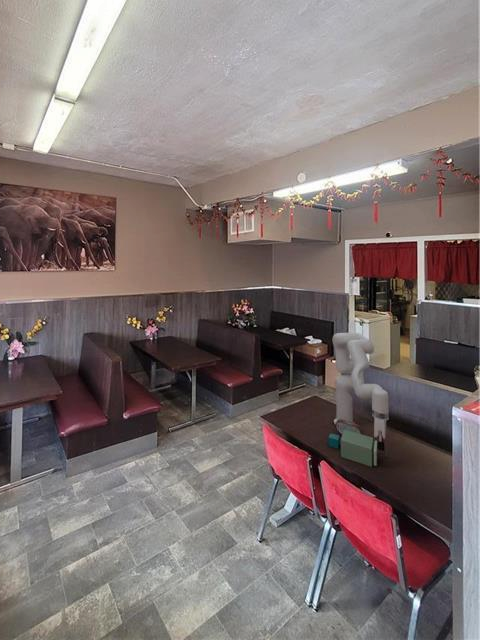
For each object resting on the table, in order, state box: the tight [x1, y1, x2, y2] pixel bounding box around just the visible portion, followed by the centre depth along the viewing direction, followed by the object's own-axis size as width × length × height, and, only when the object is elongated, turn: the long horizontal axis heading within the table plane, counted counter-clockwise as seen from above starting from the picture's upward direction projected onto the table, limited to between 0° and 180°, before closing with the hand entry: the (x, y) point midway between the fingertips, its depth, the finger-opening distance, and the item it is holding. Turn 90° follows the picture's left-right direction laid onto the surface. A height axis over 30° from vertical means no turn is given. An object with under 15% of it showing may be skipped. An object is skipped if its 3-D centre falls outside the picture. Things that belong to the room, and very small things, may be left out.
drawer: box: [373, 440, 389, 467], centre depth 163 cm, size 18×11×7 cm, turn 56°
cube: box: [328, 433, 341, 450], centre depth 175 cm, size 5×5×5 cm
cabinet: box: [340, 430, 374, 468], centre depth 166 cm, size 15×13×9 cm
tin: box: [335, 419, 364, 435], centre depth 184 cm, size 15×3×8 cm, turn 47°
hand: (380, 449), depth 159 cm, fingers closed
